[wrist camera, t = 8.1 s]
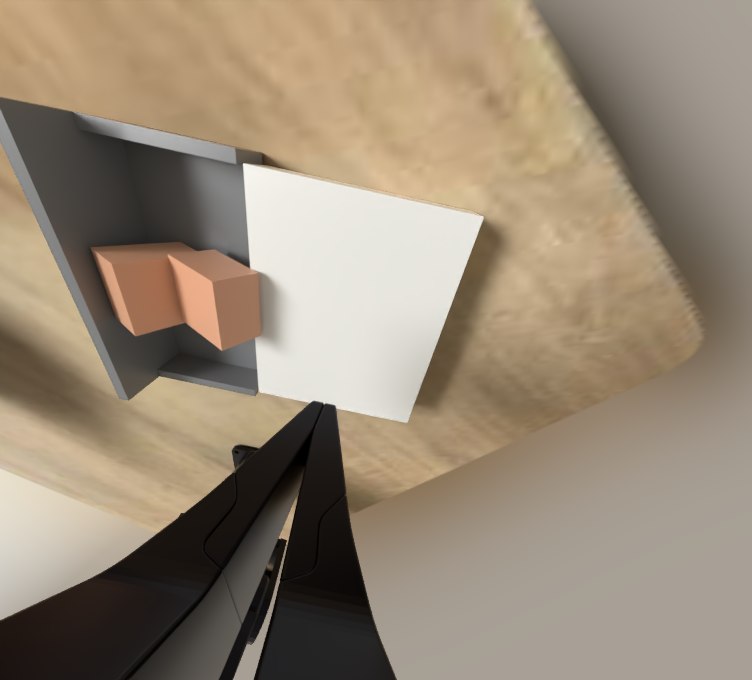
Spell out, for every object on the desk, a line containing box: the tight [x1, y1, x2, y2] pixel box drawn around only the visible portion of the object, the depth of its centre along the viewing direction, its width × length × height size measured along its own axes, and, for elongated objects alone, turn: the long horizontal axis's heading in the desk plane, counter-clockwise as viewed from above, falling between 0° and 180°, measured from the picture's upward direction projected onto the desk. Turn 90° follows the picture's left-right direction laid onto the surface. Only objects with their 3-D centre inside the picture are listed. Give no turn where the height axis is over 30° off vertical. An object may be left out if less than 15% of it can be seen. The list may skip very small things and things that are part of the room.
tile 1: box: [168, 249, 261, 351], centre depth 15 cm, size 4×4×2 cm
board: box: [243, 163, 484, 423], centre depth 17 cm, size 14×11×2 cm
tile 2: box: [90, 242, 196, 336], centre depth 15 cm, size 4×4×2 cm
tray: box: [0, 97, 262, 400], centre depth 15 cm, size 15×8×5 cm, turn 169°
